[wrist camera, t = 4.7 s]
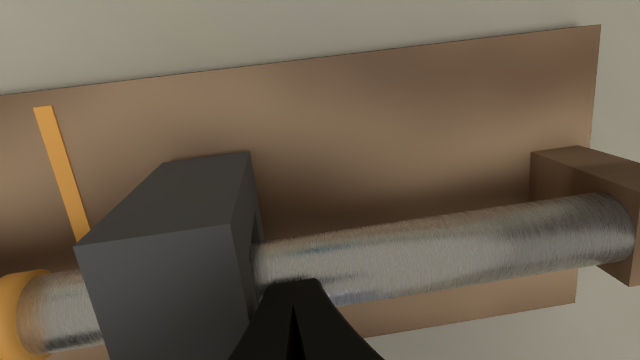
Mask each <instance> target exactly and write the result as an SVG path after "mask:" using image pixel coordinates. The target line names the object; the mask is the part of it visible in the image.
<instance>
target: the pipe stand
mask: <svg viewBox="0 0 640 360" xmlns="http://www.w3.org/2000/svg"><path fill="white" fill-rule="evenodd" d="M600 32H601V24H600V25H590V26H580V27H571V28H563V29H554V30H546V31H538V32H529V33H521V34H512V35H504V36H495V37H487V38H479V39H470V40H462V41H453V42H445V43H437V44H428V45H420V46H411V47H403V48H394V49H386V50H378V51H369V52H361V53H352V54H344V55H336V56H327V57H319V58H310V59H302V60H293V61H285V62H277V63H268V64H260V65H251V66H243V67H235V68H226V69H218V70H209V71H201V72H192V73H184V74H176V75H167V76H159V77H150V78H142V79H134V80H125V81H117V82H108V83H100V84H91V85H83V86H75V87H66V88H58V89H49V90H41V91H33V92H24V93H16V94H7V95H0V360H110V358H109V355H108V352H107V349H106V346H105V343H104V340H103V337H102V334H101V331H100V328H99V325H98V322H97V319H96V316H95V313H94V310H93V307H92V304H91V301H90V298H89V295H88V292H87V289H86V286H85V283H84V279H83V276H82V273H81V270H80V267H79V264H78V261H77V258H76V255H75V252H74V249H73V246H74V245H75V244H76V243H77V242H78V241H79V240H80V239H81V238H82V237H83V236H85V235H86V234H87V233H88V232H89V231H90V230H91V229H92V228H93V227H94V226H95V225H96V224H97V223H98V222H99V221H101V220H102V219H103V218H104V217H105V216H106V215H107V214H108V213H109V212H110V211H111V210H112V209H113V208H114V207H116V206H117V205H118V204H119V203H120V202H121V201H122V200H123V199H124V198H125V197H126V196H127V195H128V194H129V193H131V192H132V191H133V190H134V189H135V188H136V187H137V186H138V185H139V184H140V183H141V182H142V181H143V180H144V179H146V178H147V177H148V176H149V175H150V174H151V173H152V172H153V171H154V170H155V169H156V168H157V167H158V166H159V165H161V164H162V163H164V162H172V161H179V160H187V159H194V158H202V157H209V156H217V155H225V154H232V153H240V152H247V151H250V155H251V161H252V167H253V173H254V178H255V184H256V190H257V196H258V202H259V208H260V214H261V220H262V226H263V231H264V237H265V241H264V242H258V243H251V244H250V251H249V262H250V268H251V273H252V278H253V284H254V289H255V294H256V300H257V305H258V306H259V304H260V302H261V299H262V297H263V295H264V292H265V290H266V288H267V287H268V286H269V285H271V284H277V283H284V282H290V281H297V280H304V279H310V278H316V279H317V280H319V281H320V283H321V285H322V287H323V289H324V291H325V292H326V294H327V295H328V297H329V298H330V300H331V301H332V303H333V304H334V305H335V307H336V308H337V309H338V311H339V312H340V313H341V314H342V315H343V317H344V318H345V319H346V320H347V321H348V323H349V324H350V325H351V326H352V327H353V328H354V330H355V331H356V332H357V333H358V334H359V335H360V336H361V337H362V338H368V337H374V336H380V335H385V334H391V333H397V332H403V331H409V330H415V329H421V328H427V327H433V326H439V325H445V324H451V323H457V322H463V321H469V320H475V319H481V318H487V317H493V316H499V315H505V314H511V313H517V312H523V311H529V310H535V309H541V308H547V307H553V306H559V305H565V304H570V303H575V296H576V286H577V275H578V268H582V267H588V266H594V265H596V266H598V267H599V268H601V269H602V270H604V271H605V272H607V273H608V274H610V275H611V276H613V277H614V278H616V279H618V280H619V281H621V282H622V283H624V284H625V285H627V286H628V287H631V286H637V285H640V163H638V162H635V161H631V160H628V159H624V158H621V157H617V156H614V155H610V154H607V153H604V152H600V151H597V150H593V149H590V137H591V127H592V116H593V106H594V95H595V85H596V74H597V63H598V53H599V42H600Z"/></svg>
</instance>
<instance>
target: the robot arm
mask: <svg viewBox="0 0 640 360" xmlns="http://www.w3.org/2000/svg"><path fill="white" fill-rule="evenodd" d="M227 360H384V359H383V358H382V357H381V356H380V355H379V354H378V353H377V352H376V351H375V350H374V349H373V348H372V347H371V346H370V345H369V344H368V343H367V342H366V341H365V340H364V339H363V338H362V337H361V336H360V335H359V334H358V333H357V332H356V331H355V330H354V328H353V327H352V326H351V325H350V324H349V323H348V321H347V320H346V319H345V318H344V317H343V315H342V314H341V313H340V312H339V311H338V309H337V308H336V307H335V305H334V304H333V303H332V301H331V300H330V298H329V297H328V295H327V294H326V292H325V291H324V289H323V287H322V285H321V283H320V281H319V280H317V279H316V278H310V279H304V280H297V281H290V282H284V283H277V284H271V285H269V286H268V287H267V288H266V290H265V292H264V295H263V297H262V299H261V302H260V304H259V306H258V308H257V310H256V312H255V314H254V316H253V318H252V320H251V321H250V323H249V325H248V327H247V328H246V330H245V332H244V334H243V336H242V337H241V339H240V341H239V342H238V344H237V346H236V347H235V349H234V350H233V352H232V353H231V355H230V356H229V358H228V359H227Z"/></svg>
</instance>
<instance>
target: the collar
mask: <svg viewBox="0 0 640 360" xmlns="http://www.w3.org/2000/svg"><path fill="white" fill-rule="evenodd" d="M264 241H265V237H264V231H263V226H262V220H261V214H260V208H259V202H258V196H257V190H256V184H255V178H254V173H253V167H252V161H251V155H250V151H247V152H240V153H232V154H225V155H217V156H209V157H202V158H194V159H187V160H179V161H172V162H164V163H162V164H161V165H159V166H158V167H157V168H156V169H155V170H154V171H153V172H152V173H151V174H150V175H149V176H148V177H147V178H146V179H144V180H143V181H142V182H141V183H140V184H139V185H138V186H137V187H136V188H135V189H134V190H133V191H132V192H131V193H129V194H128V195H127V196H126V197H125V198H124V199H123V200H122V201H121V202H120V203H119V204H118V205H117V206H116V207H114V208H113V209H112V210H111V211H110V212H109V213H108V214H107V215H106V216H105V217H104V218H103V219H102V220H101V221H99V222H98V223H97V224H96V225H95V226H94V227H93V228H92V229H91V230H90V231H89V232H88V233H87V234H86V235H85V236H83V237H82V238H81V239H80V240H79V241H78V242H77V243H76V244H75V245H74V246H73V249H74V252H75V255H76V258H77V261H78V264H79V267H80V270H81V273H82V276H83V279H84V283H85V286H86V289H87V292H88V295H89V298H90V301H91V304H92V307H93V310H94V313H95V316H96V319H97V322H98V325H99V328H100V331H101V334H102V337H103V340H104V343H105V346H106V349H107V352H108V355H109V358H110V360H227V359H228V358H229V356H230V355H231V353H232V352H233V350H234V349H235V347H236V346H237V344H238V342H239V341H240V339H241V337H242V336H243V334H244V332H245V330H246V328H247V327H248V325H249V323H250V321H251V320H252V318H253V316H254V314H255V312H256V310H257V308H258V305H257V300H256V294H255V289H254V284H253V278H252V273H251V268H250V262H249V251H250V244H251V243H258V242H264Z"/></svg>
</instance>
